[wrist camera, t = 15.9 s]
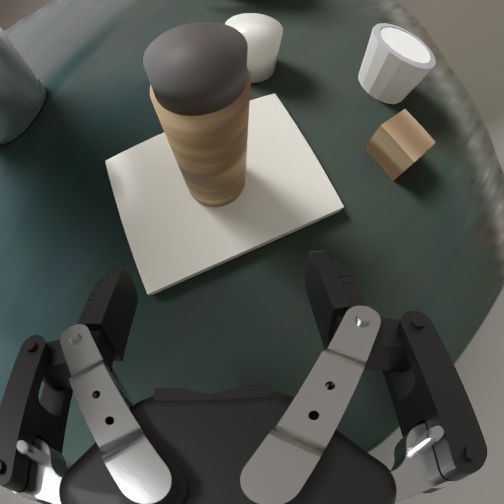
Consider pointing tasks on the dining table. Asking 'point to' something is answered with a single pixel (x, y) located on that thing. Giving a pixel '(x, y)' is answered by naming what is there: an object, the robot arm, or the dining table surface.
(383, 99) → the white tapered cylinder
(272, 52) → the white rounded cylinder
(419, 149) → the wooden block
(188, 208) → the stone tile
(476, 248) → the dining table surface
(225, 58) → the pepper mill
